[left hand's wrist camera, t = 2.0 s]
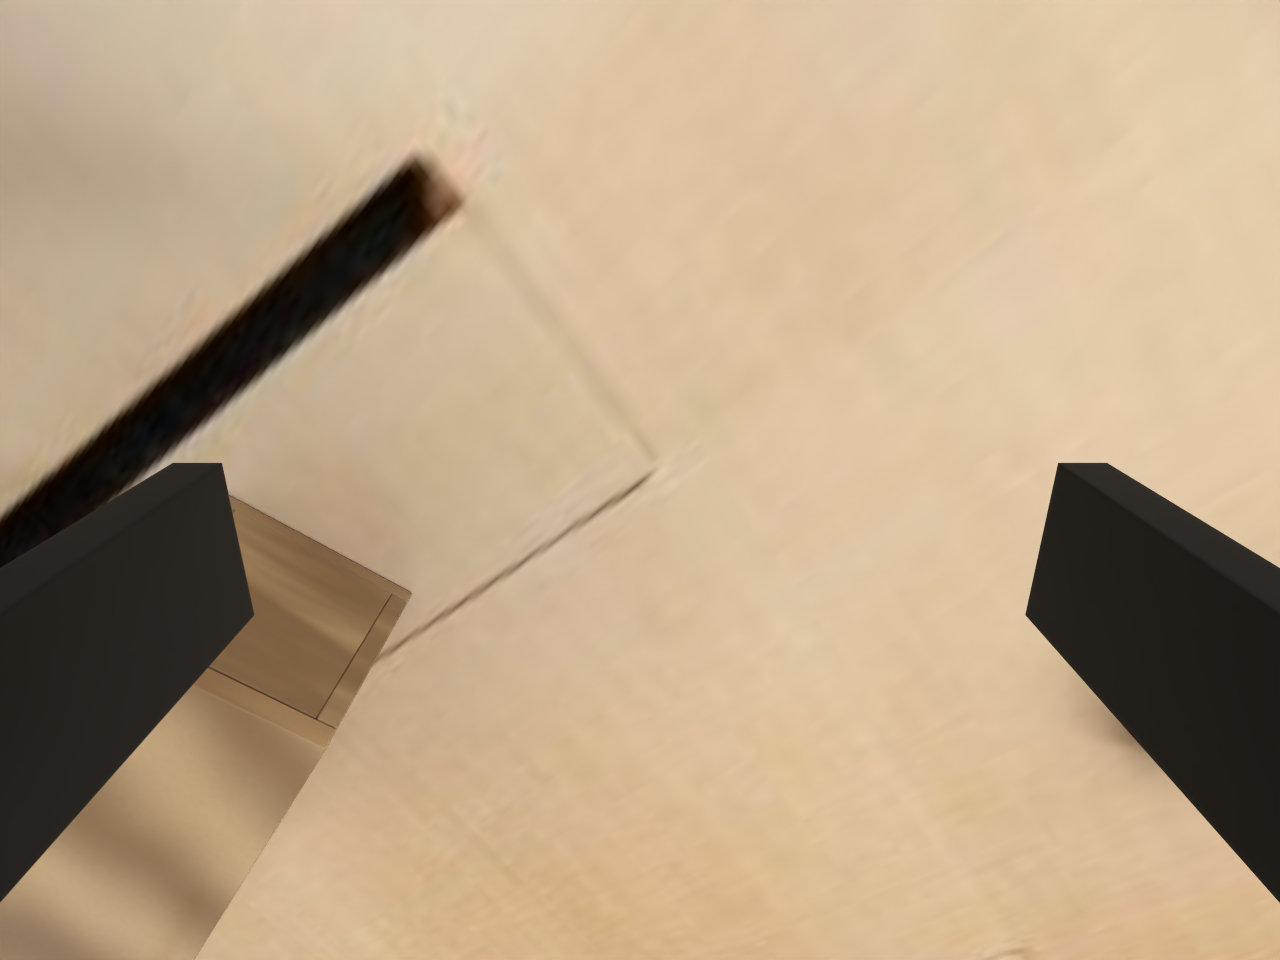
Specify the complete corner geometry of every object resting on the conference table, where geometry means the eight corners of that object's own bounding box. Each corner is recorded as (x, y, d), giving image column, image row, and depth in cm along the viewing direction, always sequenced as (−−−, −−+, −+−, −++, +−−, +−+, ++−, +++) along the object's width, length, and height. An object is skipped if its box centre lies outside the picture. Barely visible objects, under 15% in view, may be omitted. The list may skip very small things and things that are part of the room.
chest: (269, 824, 41) (166, 1002, 32) (101, 749, 39) (-57, 915, 30) (412, 592, 36) (337, 727, 27) (227, 493, 34) (80, 603, 25)
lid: (161, 1010, 32) (8, 1274, 24) (-62, 924, 30) (-305, 1180, 22) (337, 728, 27) (213, 951, 19) (79, 604, 25) (-175, 794, 17)
